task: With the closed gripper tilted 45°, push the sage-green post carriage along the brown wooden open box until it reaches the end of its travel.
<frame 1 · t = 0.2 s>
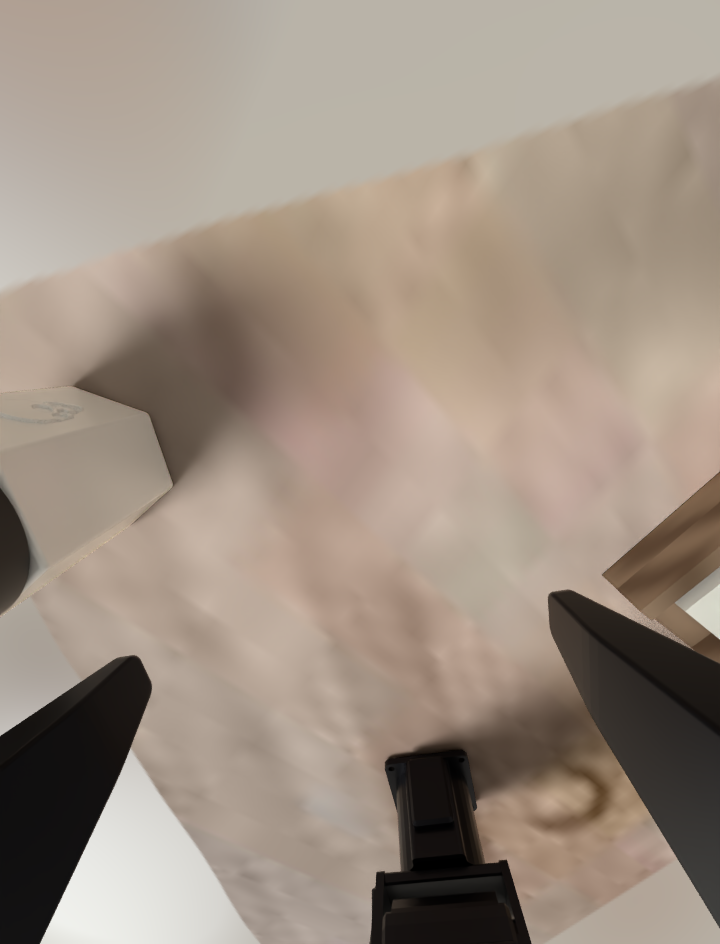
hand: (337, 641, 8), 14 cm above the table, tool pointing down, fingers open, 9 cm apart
jar: (105, 459, 22), on the table
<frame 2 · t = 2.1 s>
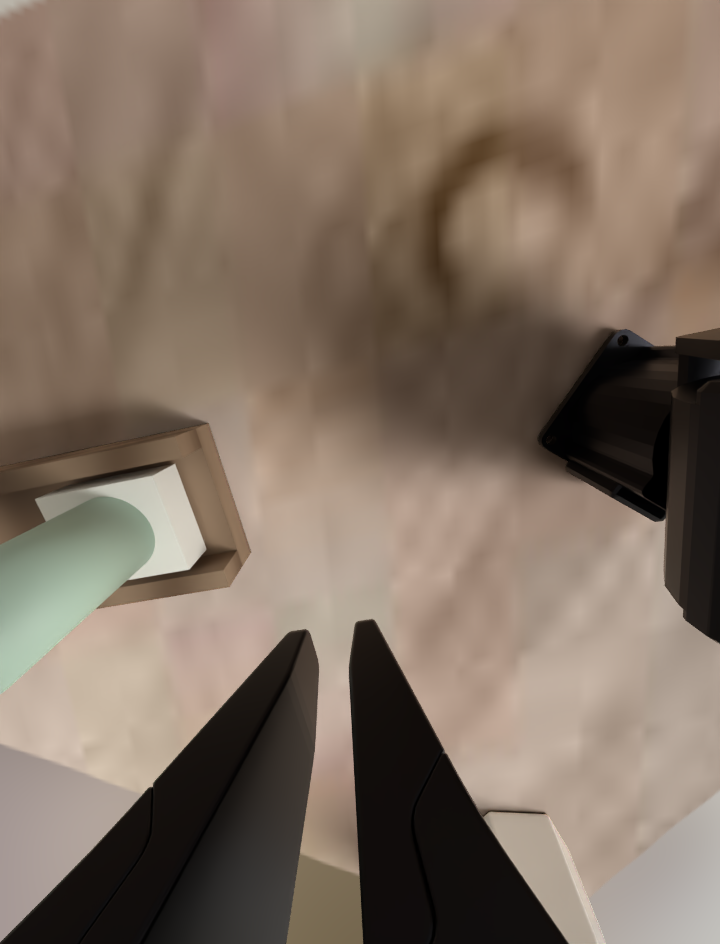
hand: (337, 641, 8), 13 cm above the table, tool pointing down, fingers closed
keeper: (71, 564, 15), point 6 cm above the table, slide at 0.0 cm
brown wooden open box: (64, 522, 22), on the table
jar: (509, 840, 30), on the table
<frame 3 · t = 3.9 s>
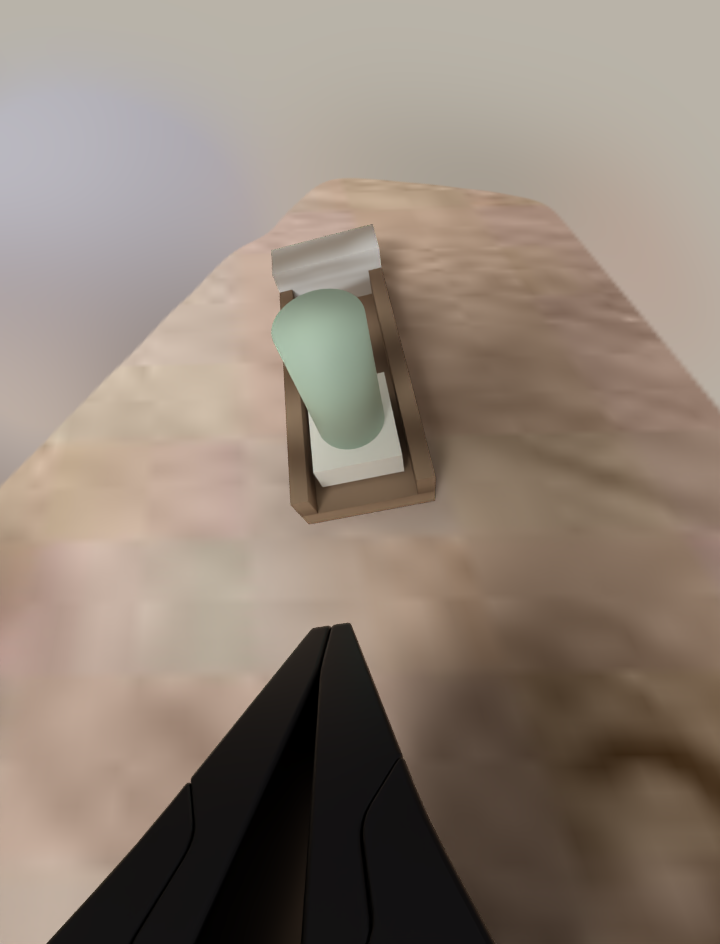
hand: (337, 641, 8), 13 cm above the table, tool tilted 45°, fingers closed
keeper: (341, 392, 19), point 6 cm above the table, slide at 0.0 cm
brown wooden open box: (350, 383, 28), on the table
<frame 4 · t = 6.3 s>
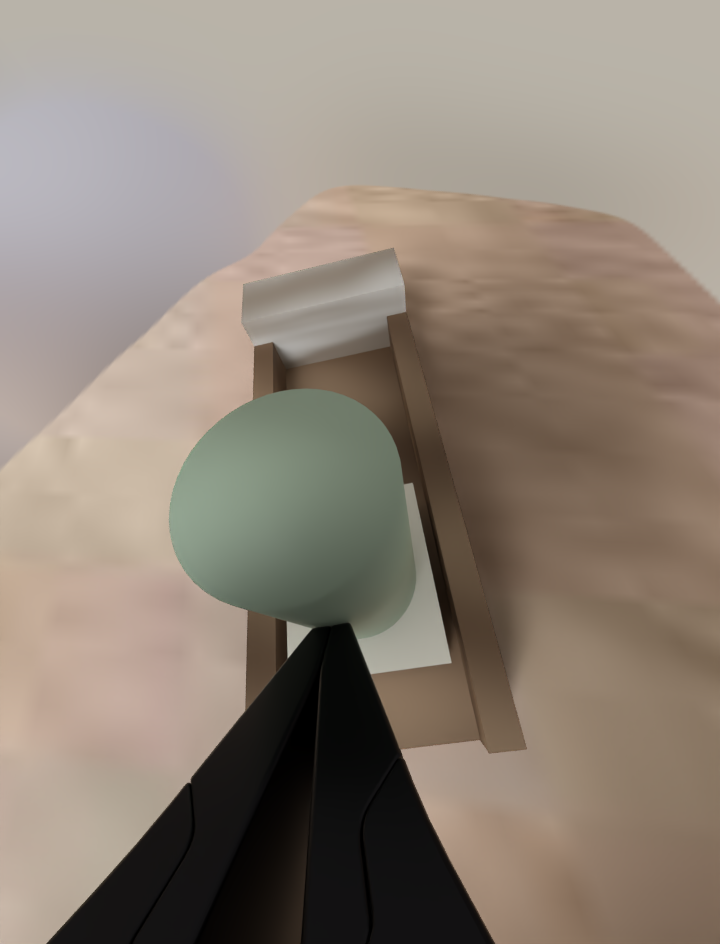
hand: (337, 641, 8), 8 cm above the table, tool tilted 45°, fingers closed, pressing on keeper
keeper: (340, 554, 10), point 6 cm above the table, slide at 0.8 cm, touching gripper
brown wooden open box: (357, 484, 18), on the table
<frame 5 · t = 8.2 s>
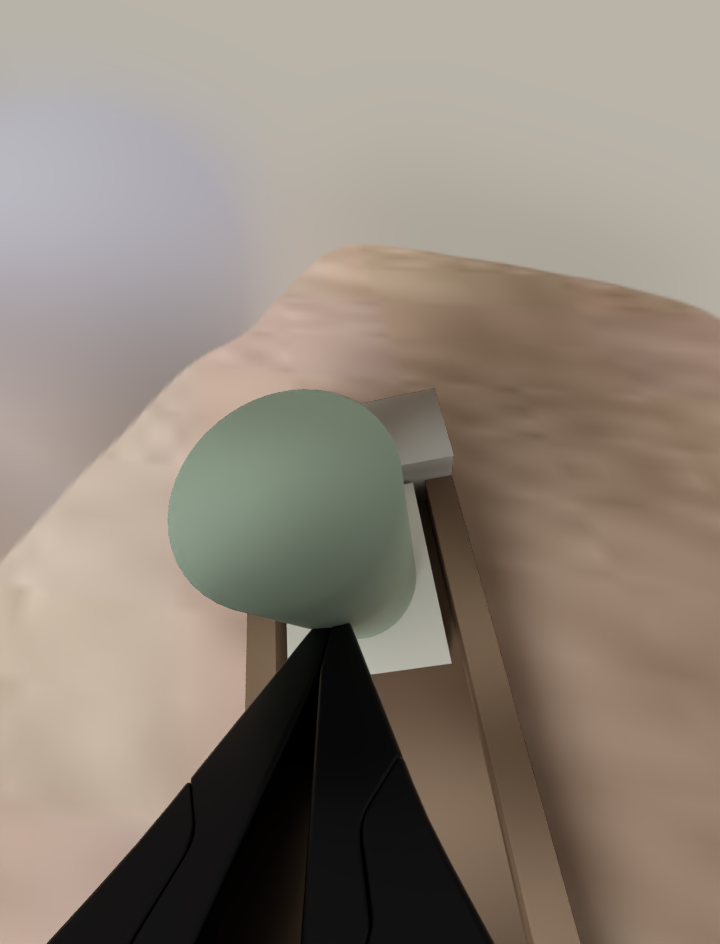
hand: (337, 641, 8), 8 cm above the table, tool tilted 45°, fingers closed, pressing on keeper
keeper: (340, 555, 10), point 6 cm above the table, slide at 10.1 cm, touching gripper
brown wooden open box: (386, 705, 14), on the table
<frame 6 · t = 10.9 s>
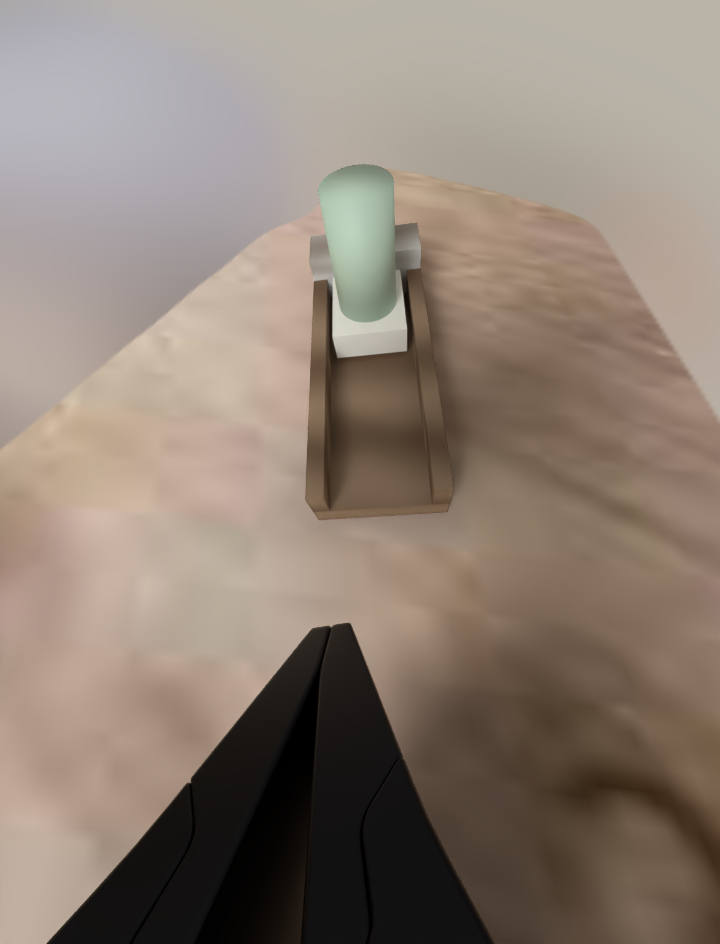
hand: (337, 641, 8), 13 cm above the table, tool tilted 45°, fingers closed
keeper: (364, 267, 23), point 6 cm above the table, slide at 10.0 cm
brown wooden open box: (374, 382, 27), on the table
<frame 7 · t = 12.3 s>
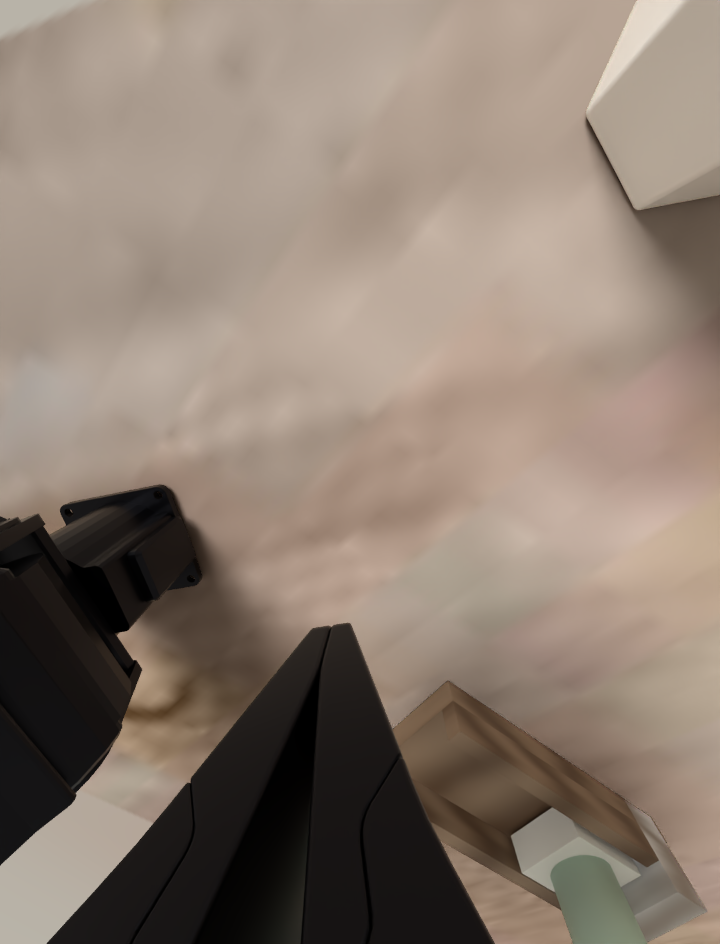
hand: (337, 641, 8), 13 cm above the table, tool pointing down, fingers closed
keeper: (605, 932, 22), point 6 cm above the table, slide at 10.0 cm
brown wooden open box: (516, 783, 27), on the table
jar: (690, 96, 15), on the table
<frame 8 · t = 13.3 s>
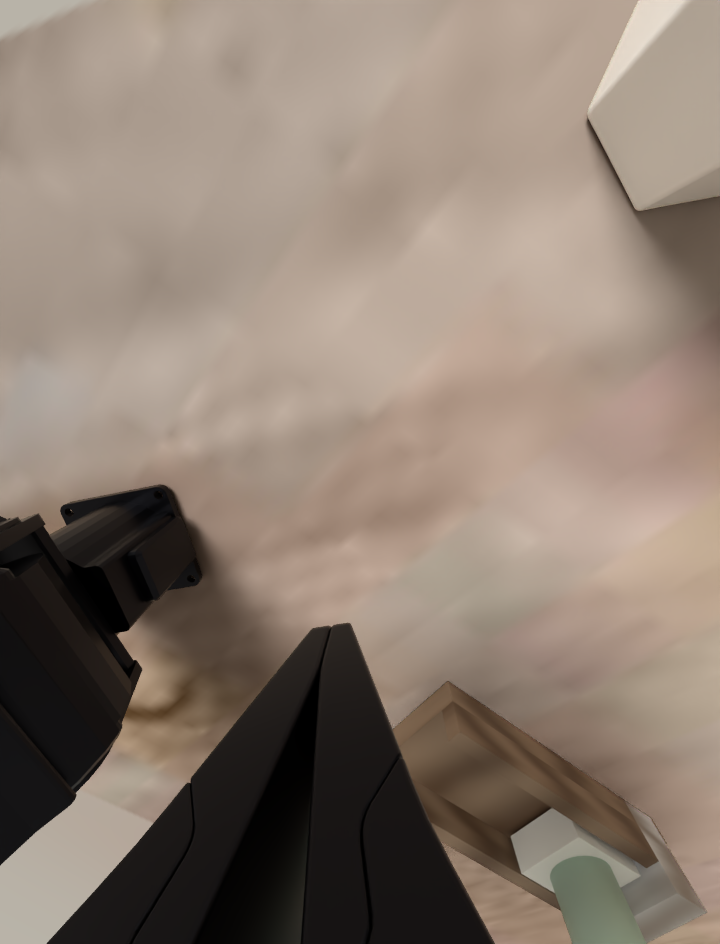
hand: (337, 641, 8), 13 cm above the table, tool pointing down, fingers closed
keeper: (604, 933, 22), point 6 cm above the table, slide at 10.0 cm
brown wooden open box: (516, 783, 27), on the table
jar: (692, 96, 15), on the table
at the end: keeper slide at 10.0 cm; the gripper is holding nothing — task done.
